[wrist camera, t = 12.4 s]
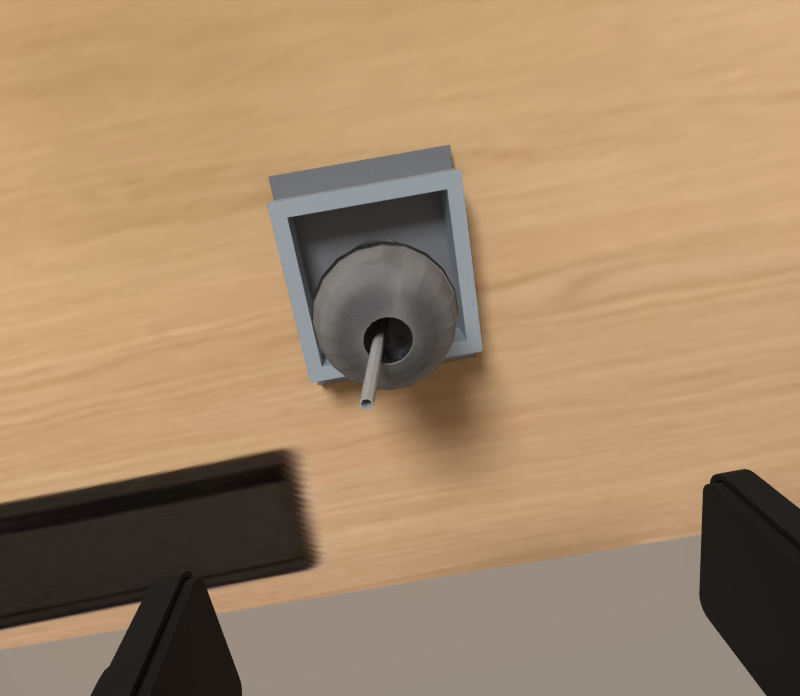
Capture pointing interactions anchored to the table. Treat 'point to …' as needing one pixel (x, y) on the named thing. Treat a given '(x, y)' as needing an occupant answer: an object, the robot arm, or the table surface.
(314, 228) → the blue-grey tray
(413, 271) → the beverage cup
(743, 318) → the table surface
